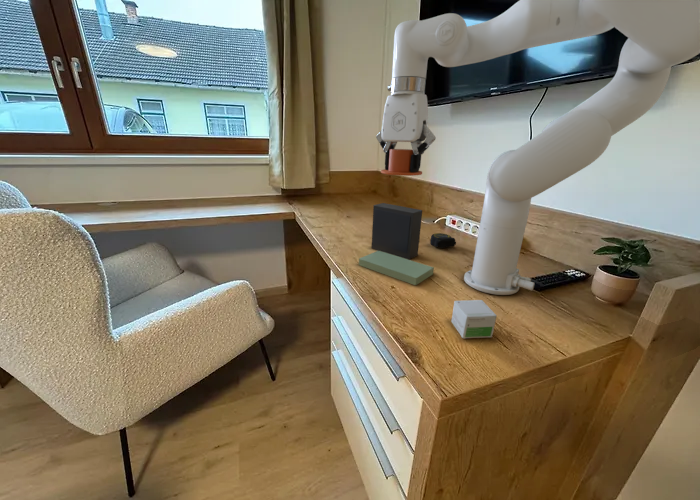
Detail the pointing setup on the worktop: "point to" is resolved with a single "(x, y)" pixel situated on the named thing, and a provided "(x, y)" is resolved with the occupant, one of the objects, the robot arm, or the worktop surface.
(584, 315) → the worktop surface
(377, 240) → the dark upright block
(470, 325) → the small box
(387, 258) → the stand
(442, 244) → the tape measure
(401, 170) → the hat
